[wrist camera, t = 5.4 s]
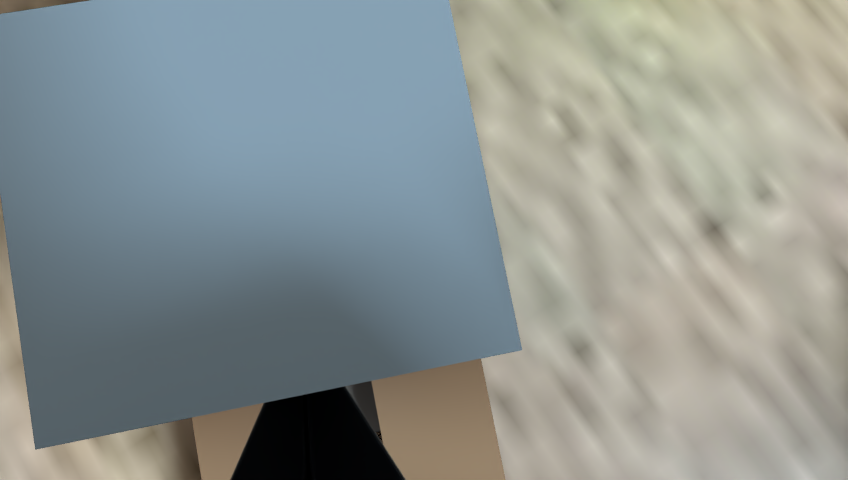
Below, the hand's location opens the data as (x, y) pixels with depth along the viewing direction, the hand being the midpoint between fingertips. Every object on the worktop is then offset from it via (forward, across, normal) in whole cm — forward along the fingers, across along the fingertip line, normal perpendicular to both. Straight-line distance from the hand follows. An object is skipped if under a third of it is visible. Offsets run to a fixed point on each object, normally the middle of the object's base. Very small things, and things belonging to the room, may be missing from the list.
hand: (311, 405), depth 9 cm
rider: (+7, 0, +4) cm, 8 cm away
